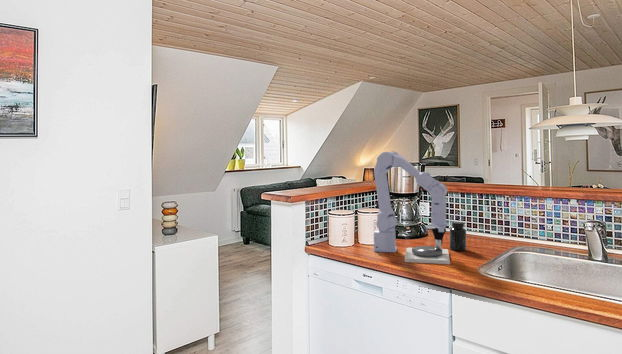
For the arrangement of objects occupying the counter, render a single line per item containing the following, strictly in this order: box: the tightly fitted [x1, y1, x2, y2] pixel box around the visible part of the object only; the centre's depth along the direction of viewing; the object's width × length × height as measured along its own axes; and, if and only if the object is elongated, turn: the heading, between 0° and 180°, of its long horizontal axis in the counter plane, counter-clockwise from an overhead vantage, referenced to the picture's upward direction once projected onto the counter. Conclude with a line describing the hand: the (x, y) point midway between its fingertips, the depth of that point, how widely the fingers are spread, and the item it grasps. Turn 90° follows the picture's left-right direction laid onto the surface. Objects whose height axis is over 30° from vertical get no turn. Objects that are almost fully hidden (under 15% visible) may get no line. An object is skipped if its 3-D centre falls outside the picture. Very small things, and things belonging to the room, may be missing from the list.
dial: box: [411, 239, 443, 257], centre depth 157 cm, size 12×12×6 cm
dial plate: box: [404, 247, 451, 265], centre depth 157 cm, size 17×17×2 cm
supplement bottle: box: [449, 221, 467, 252], centre depth 167 cm, size 7×7×12 cm
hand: (438, 245), depth 157 cm, fingers closed, pressing on dial
